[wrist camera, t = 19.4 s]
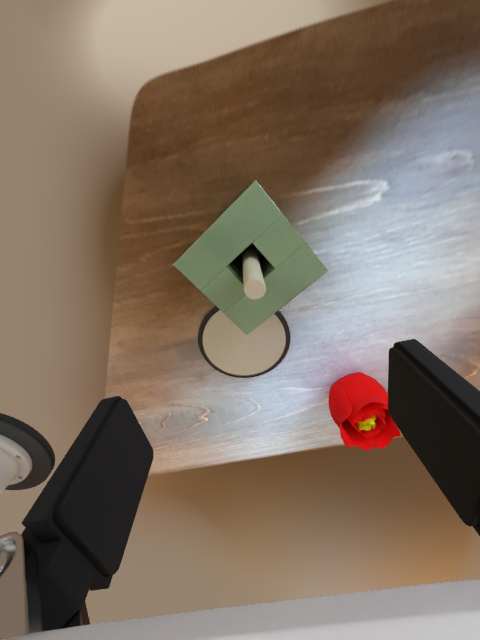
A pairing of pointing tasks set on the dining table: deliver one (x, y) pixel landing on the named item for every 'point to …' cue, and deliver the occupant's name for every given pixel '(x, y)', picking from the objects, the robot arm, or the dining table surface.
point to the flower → (362, 411)
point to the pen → (252, 273)
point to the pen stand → (277, 267)
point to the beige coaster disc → (243, 344)
